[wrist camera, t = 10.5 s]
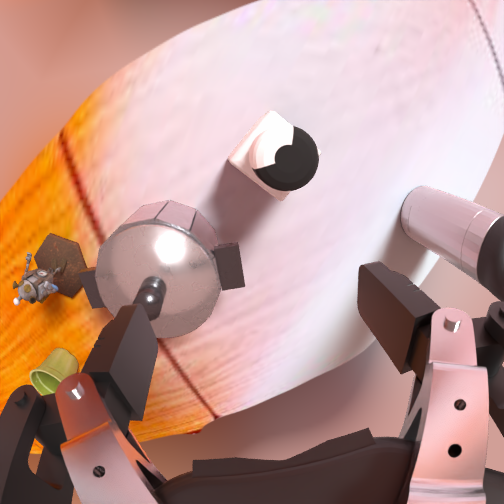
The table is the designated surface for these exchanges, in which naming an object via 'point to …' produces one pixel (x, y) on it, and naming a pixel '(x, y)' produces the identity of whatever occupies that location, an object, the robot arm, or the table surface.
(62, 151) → the table surface
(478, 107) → the table surface
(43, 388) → the plant pot
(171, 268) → the lid
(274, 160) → the medicine bottle
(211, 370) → the table surface
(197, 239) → the pot
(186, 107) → the table surface
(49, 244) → the robot figurine
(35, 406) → the robot arm
